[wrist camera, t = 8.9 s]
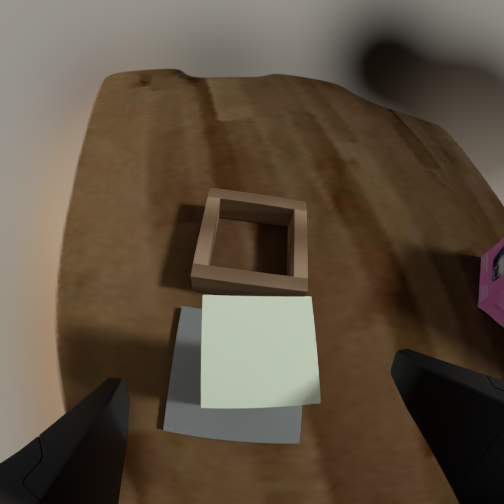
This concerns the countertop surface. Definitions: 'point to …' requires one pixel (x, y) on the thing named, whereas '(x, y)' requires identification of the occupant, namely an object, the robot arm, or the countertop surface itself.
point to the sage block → (258, 352)
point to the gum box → (492, 283)
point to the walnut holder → (261, 212)
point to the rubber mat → (217, 419)
